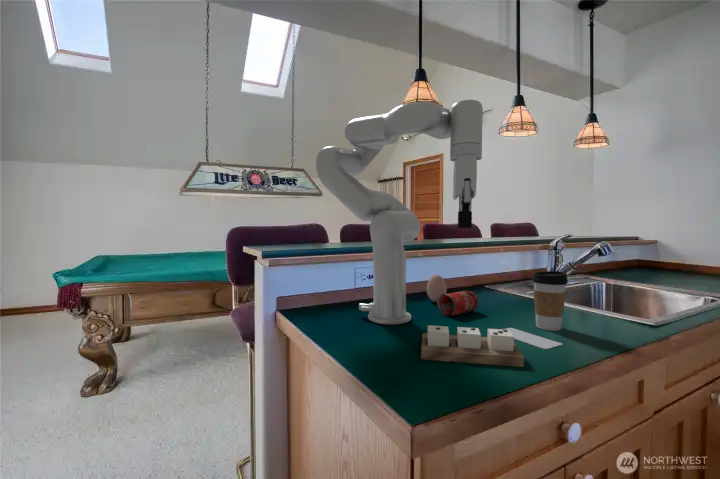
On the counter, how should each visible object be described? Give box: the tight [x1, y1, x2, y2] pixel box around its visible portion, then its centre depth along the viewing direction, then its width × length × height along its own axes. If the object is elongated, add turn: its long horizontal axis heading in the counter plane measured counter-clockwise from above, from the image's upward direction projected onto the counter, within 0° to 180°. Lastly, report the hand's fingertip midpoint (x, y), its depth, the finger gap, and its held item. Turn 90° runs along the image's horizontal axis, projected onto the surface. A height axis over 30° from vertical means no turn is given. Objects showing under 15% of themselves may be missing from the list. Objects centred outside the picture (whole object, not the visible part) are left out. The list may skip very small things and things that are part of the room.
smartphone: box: [501, 327, 564, 351], centre depth 87 cm, size 7×1×15 cm
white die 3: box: [486, 328, 515, 351], centre depth 76 cm, size 4×4×4 cm
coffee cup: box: [532, 270, 569, 332], centre depth 95 cm, size 8×8×15 cm
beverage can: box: [436, 290, 479, 317], centre depth 110 cm, size 7×12×7 cm, turn 122°
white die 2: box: [456, 326, 482, 349], centre depth 77 cm, size 4×4×4 cm
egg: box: [426, 274, 448, 303], centre depth 124 cm, size 7×7×10 cm
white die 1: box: [427, 325, 450, 347], centre depth 79 cm, size 4×4×4 cm
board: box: [420, 332, 525, 368], centre depth 77 cm, size 20×11×2 cm, turn 79°
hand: (464, 227), depth 89 cm, fingers closed
